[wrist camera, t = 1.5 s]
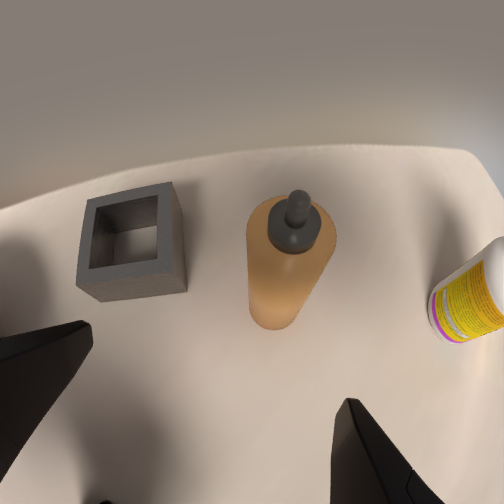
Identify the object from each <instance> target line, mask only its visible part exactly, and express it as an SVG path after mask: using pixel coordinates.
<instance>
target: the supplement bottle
mask: <svg viewBox="0 0 504 504" xmlns="http://www.w3.org/2000/svg"><path fill="white" fill-rule="evenodd" d="M428 314H429V319H430V323H431V325H432V328H433V330H434V331H435V333H436V334H437V335H438V337H440V338H441V339H442V340H443V341H445V342H447V343H449V344H460V343H463V342H466V341H469V340H472V339H474V338H477V337H480V336H482V335H485V334H487V333H490V332H492V331H495V330H497V329H499V328H502V327H504V237H499V238H496V239H495V240H493V241H492V242H491V243H490V244H489V245H487V246H486V247H485V248H484V249H483V250H482V251H480V252H479V253H478V254H477V255H475V256H474V257H473V258H472V259H470V260H469V261H468V262H466V263H465V264H464V265H462V266H461V267H460V268H459V269H457V270H456V271H454V272H453V273H452V274H450V275H449V276H448V277H446V278H445V279H443V280H442V281H441V282H440V283H438V284H437V285H436V286H435V288H434V289H433V291H432V293H431V295H430V298H429V304H428Z"/></svg>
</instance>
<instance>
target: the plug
mask: <svg viewBox="0 0 504 504" xmlns="http://www.w3.org/2000/svg"><path fill="white" fill-rule="evenodd" d="M246 236H247V261H248V285H249V308H250V313H251V316H252V318H253V320H254V321H255V322H256V323H257V324H258V325H259V326H261V327H263V328H265V329H268V330H280V329H283V328H285V327H287V326H289V325H290V324H291V323H292V322H293V321H294V319H295V318H296V316H297V314H298V313H299V311H300V309H301V308H302V306H303V304H304V303H305V301H306V299H307V298H308V296H309V294H310V293H311V291H312V289H313V287H314V286H315V284H316V282H317V281H318V279H319V277H320V275H321V274H322V272H323V270H324V268H325V267H326V265H327V263H328V261H329V259H330V258H331V256H332V254H333V252H334V249H335V246H336V237H337V236H336V230H335V226H334V224H333V221H332V220H331V218H330V216H329V215H328V214H327V213H326V211H325V210H324V209H323V208H321V207H320V206H319V205H317V204H316V203H314V202H312V201H311V198H310V196H309V195H308V194H307V193H306V192H305V191H302V190H296V191H293V192H292V193H291V194H290V195H289V196H279V197H275V198H272V199H269V200H267V201H265V202H263V203H262V204H261V205H259V206H258V207H257V208H256V209H255V210H254V212H253V213H252V214H251V216H250V218H249V221H248V224H247V231H246Z"/></svg>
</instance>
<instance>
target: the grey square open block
mask: <svg viewBox="0 0 504 504" xmlns="http://www.w3.org/2000/svg"><path fill="white" fill-rule="evenodd" d="M155 225H157V259H152V260H146V261H139V262H133V263H127V264H120V265H114V266H113V253H114V239H115V233H117V232H122V231H127V230H133V229H138V228H144V227H149V226H155ZM76 286H77V287H79V288H80V289H82V290H83V291H85V292H86V293H87V294H89V295H90V296H92V297H93V298H95V299H96V300H98V301H99V302H109V301H118V300H127V299H135V298H143V297H152V296H159V295H167V294H175V293H182V292H187V287H186V275H185V260H184V244H183V223H182V209H181V207H180V204H179V201H178V198H177V195H176V193H175V190H174V187H173V184H172V182H166V183H161V184H156V185H151V186H146V187H141V188H136V189H131V190H127V191H122V192H118V193H113V194H109V195H105V196H101V197H97V198H92V199H88V200H87V204H86V210H85V215H84V221H83V227H82V233H81V240H80V247H79V255H78V264H77V275H76Z"/></svg>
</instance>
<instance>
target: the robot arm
mask: <svg viewBox="0 0 504 504" xmlns="http://www.w3.org/2000/svg"><path fill="white" fill-rule="evenodd" d="M92 346H93V336H92V328H91V325H90V324H89V323H87V322H85V321H83V320H79V321H74V322H70V323H66V324H62V325H57V326H53V327H49V328H44V329H40V330H36V331H31V332H27V333H22V334H18V335H13V336H8V337H4V338H2V339H1V338H0V483H1V481H2V479H3V478H4V476H5V474H6V473H7V471H8V470H9V468H10V466H11V465H12V463H13V462H14V460H15V459H16V457H17V456H18V454H19V453H20V451H21V449H22V448H23V446H24V445H25V443H26V442H27V440H28V439H29V437H30V436H31V435H32V433H33V432H34V430H35V429H36V427H37V426H38V425H39V423H40V422H41V420H42V419H43V417H44V416H45V415H46V413H47V412H48V411H49V409H50V408H51V406H52V405H53V404H54V402H55V401H56V400H57V398H58V397H59V396H60V394H61V393H62V392H63V390H64V389H65V388H66V386H67V385H68V384H69V383H70V381H71V380H72V378H73V377H74V376H75V374H76V373H77V371H78V369H79V368H80V366H81V364H82V363H83V361H84V359H85V358H86V356H87V355H88V353H89V352H90V350H91V348H92ZM100 504H111V503H110V502H109V501H107V500H105V501H103V502H101V503H100ZM330 504H445V503H444V502H443V501H442V500H441V499H440V498H439V497H438V496H437V495H436V494H435V493H434V492H433V491H432V490H431V489H430V488H429V487H428V486H427V485H426V484H425V482H424V481H423V480H422V479H421V478H420V476H419V475H418V474H417V473H416V471H415V470H414V469H413V470H412V467H411V465H410V464H409V463H408V461H407V460H406V459H405V458H404V456H403V455H402V454H401V453H400V451H399V450H398V449H397V448H396V446H395V445H394V444H393V442H392V441H391V440H390V439H389V437H388V436H387V435H386V434H385V432H384V431H383V430H382V428H381V427H380V426H379V425H378V423H377V422H376V421H375V420H374V418H373V417H372V416H371V414H370V413H369V412H368V411H367V409H366V408H365V407H364V406H363V404H362V403H361V402H360V400H358V399H354V398H346V399H345V400H344V402H343V404H342V405H341V407H340V409H339V411H338V412H337V414H336V417H335V425H334V434H333V443H332V452H331V487H330Z"/></svg>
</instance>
